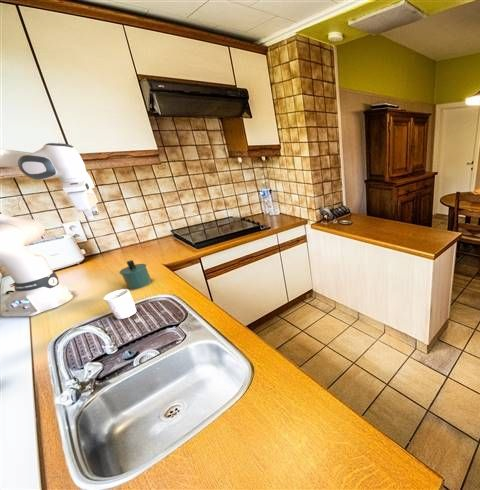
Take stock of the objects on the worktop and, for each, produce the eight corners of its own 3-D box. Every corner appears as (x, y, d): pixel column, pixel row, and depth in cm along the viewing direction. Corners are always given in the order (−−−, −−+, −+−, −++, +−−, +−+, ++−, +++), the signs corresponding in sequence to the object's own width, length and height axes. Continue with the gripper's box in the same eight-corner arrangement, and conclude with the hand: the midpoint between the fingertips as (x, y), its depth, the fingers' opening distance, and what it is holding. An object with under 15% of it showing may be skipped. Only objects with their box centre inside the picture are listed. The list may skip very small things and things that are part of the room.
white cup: (124, 321, 107) (113, 300, 103) (109, 319, 109) (98, 299, 105) (143, 309, 114) (133, 289, 110) (128, 307, 116) (119, 288, 112)
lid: (114, 277, 126) (110, 267, 124) (129, 267, 136) (125, 258, 134) (138, 274, 128) (134, 264, 125) (151, 264, 137) (147, 255, 135)
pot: (123, 290, 130) (116, 275, 127) (136, 280, 139) (129, 266, 135) (144, 288, 131) (137, 273, 128) (155, 278, 140) (149, 264, 136)
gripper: (74, 183, 115) (89, 214, 120) (60, 189, 99) (78, 224, 105) (94, 181, 118) (107, 211, 124) (83, 186, 103) (100, 220, 108)
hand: (94, 217), depth 114 cm, fingers open, 8 cm apart
